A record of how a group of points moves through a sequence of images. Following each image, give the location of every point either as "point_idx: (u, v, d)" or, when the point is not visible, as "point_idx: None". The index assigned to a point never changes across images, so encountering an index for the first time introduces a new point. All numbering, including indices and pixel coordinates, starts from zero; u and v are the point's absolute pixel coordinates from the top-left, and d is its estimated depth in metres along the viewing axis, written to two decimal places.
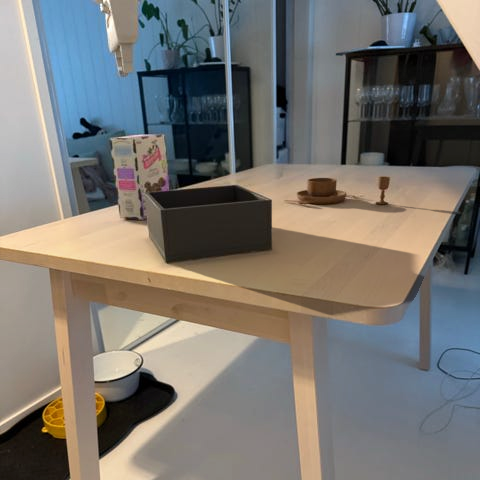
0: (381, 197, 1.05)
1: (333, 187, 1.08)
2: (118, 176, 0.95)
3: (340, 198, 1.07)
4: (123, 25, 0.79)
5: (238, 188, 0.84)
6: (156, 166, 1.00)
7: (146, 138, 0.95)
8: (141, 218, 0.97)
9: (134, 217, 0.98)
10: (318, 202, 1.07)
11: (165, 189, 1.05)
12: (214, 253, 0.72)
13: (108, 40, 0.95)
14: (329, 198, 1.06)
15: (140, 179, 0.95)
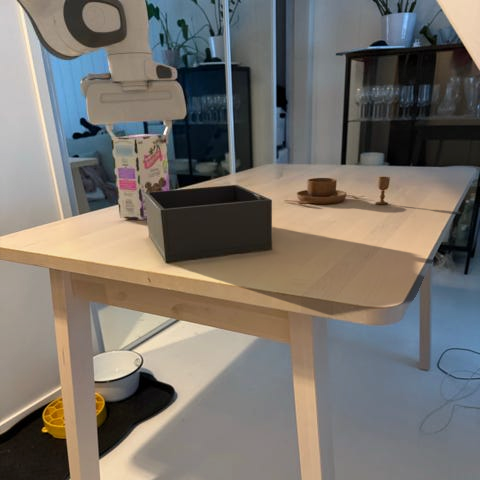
0: (381, 197, 1.05)
1: (333, 187, 1.08)
2: (119, 176, 0.95)
3: (340, 198, 1.07)
4: None
5: (238, 188, 0.84)
6: (157, 166, 1.00)
7: (147, 138, 0.95)
8: (141, 218, 0.97)
9: (134, 217, 0.98)
10: (318, 202, 1.07)
11: (165, 189, 1.05)
12: (214, 253, 0.72)
13: (95, 112, 0.92)
14: (329, 198, 1.06)
15: (141, 179, 0.95)
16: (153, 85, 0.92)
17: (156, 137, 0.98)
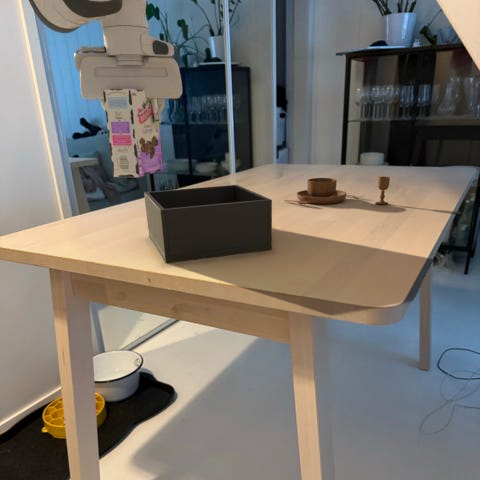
0: (381, 197, 1.05)
1: (333, 187, 1.08)
2: (112, 130, 0.90)
3: (340, 198, 1.07)
4: None
5: (238, 188, 0.84)
6: (150, 123, 0.96)
7: (140, 91, 0.91)
8: (137, 176, 0.93)
9: (129, 175, 0.93)
10: (318, 202, 1.07)
11: (158, 149, 1.01)
12: (214, 253, 0.72)
13: (89, 86, 0.89)
14: (329, 198, 1.06)
15: (136, 134, 0.91)
16: (149, 61, 0.90)
17: None
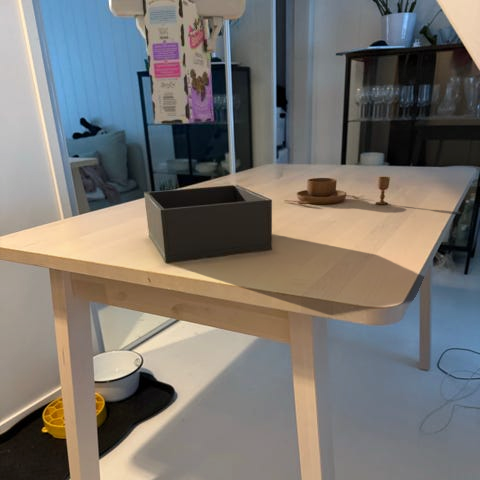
0: (381, 197, 1.05)
1: (333, 187, 1.08)
2: (154, 57, 0.65)
3: (340, 198, 1.07)
4: None
5: (238, 188, 0.84)
6: (201, 51, 0.71)
7: (192, 3, 0.66)
8: (187, 121, 0.68)
9: (176, 120, 0.68)
10: (318, 202, 1.07)
11: (209, 91, 0.76)
12: (214, 253, 0.72)
13: None
14: (329, 198, 1.06)
15: (186, 61, 0.66)
16: None
17: None
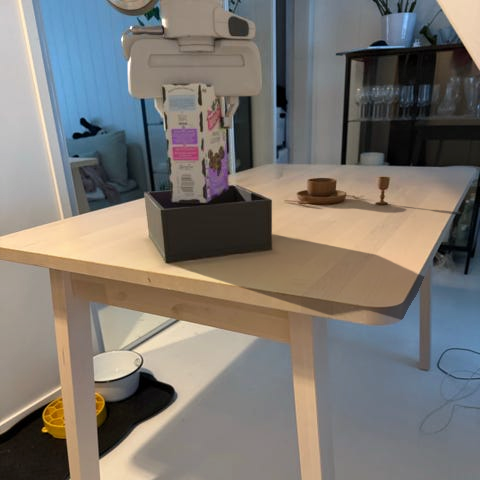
0: (381, 197, 1.05)
1: (333, 187, 1.08)
2: (172, 141, 0.66)
3: (340, 198, 1.07)
4: None
5: (238, 188, 0.84)
6: (218, 129, 0.72)
7: (210, 87, 0.67)
8: (204, 201, 0.69)
9: (194, 200, 0.69)
10: (318, 202, 1.07)
11: (224, 163, 0.77)
12: (214, 253, 0.72)
13: (141, 80, 0.65)
14: (329, 198, 1.06)
15: (204, 145, 0.67)
16: (222, 45, 0.66)
17: None
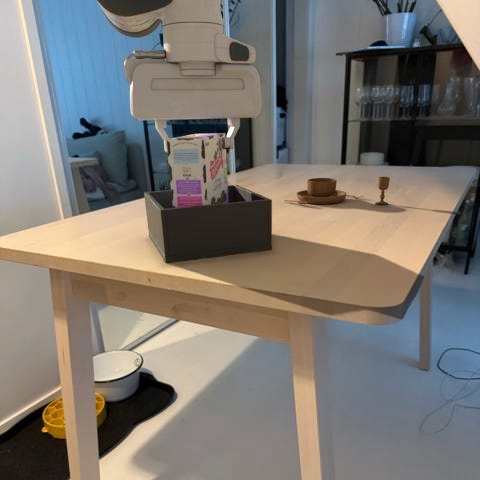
0: (381, 197, 1.05)
1: (333, 187, 1.08)
2: (177, 191, 0.69)
3: (340, 198, 1.07)
4: None
5: (238, 188, 0.84)
6: (220, 175, 0.75)
7: (212, 138, 0.70)
8: None
9: None
10: (318, 202, 1.07)
11: None
12: (214, 253, 0.72)
13: (143, 103, 0.67)
14: (329, 198, 1.06)
15: (208, 194, 0.70)
16: (223, 69, 0.67)
17: (218, 137, 0.73)
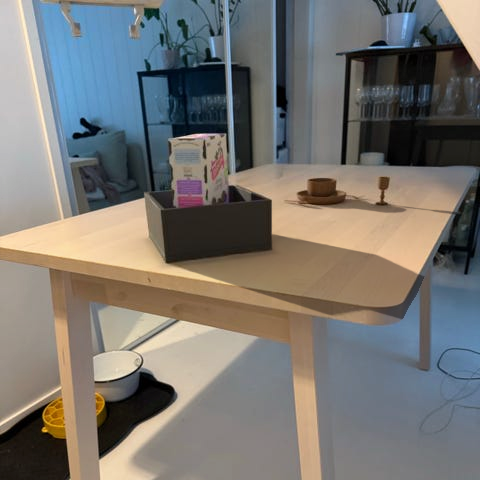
0: (381, 197, 1.05)
1: (333, 187, 1.08)
2: (178, 191, 0.69)
3: (340, 198, 1.07)
4: None
5: (238, 188, 0.84)
6: (221, 175, 0.75)
7: (213, 138, 0.70)
8: None
9: None
10: (318, 202, 1.07)
11: None
12: (214, 253, 0.72)
13: None
14: (329, 198, 1.06)
15: (209, 194, 0.70)
16: None
17: (219, 137, 0.73)
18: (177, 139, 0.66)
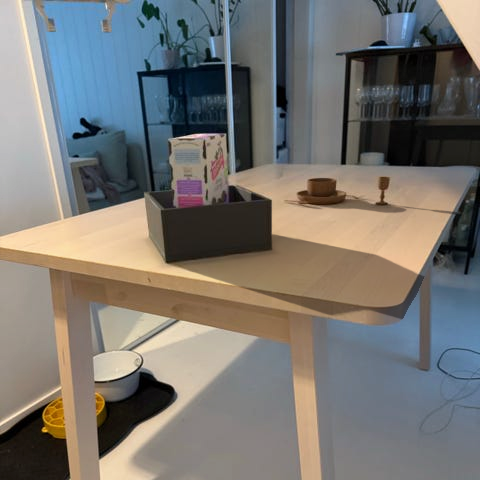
0: (381, 197, 1.05)
1: (333, 187, 1.08)
2: (178, 191, 0.69)
3: (340, 198, 1.07)
4: None
5: (238, 188, 0.84)
6: (221, 175, 0.75)
7: (213, 138, 0.70)
8: None
9: None
10: (318, 202, 1.07)
11: None
12: (214, 253, 0.72)
13: None
14: (329, 198, 1.06)
15: (209, 194, 0.70)
16: None
17: (219, 137, 0.73)
18: (177, 139, 0.66)
